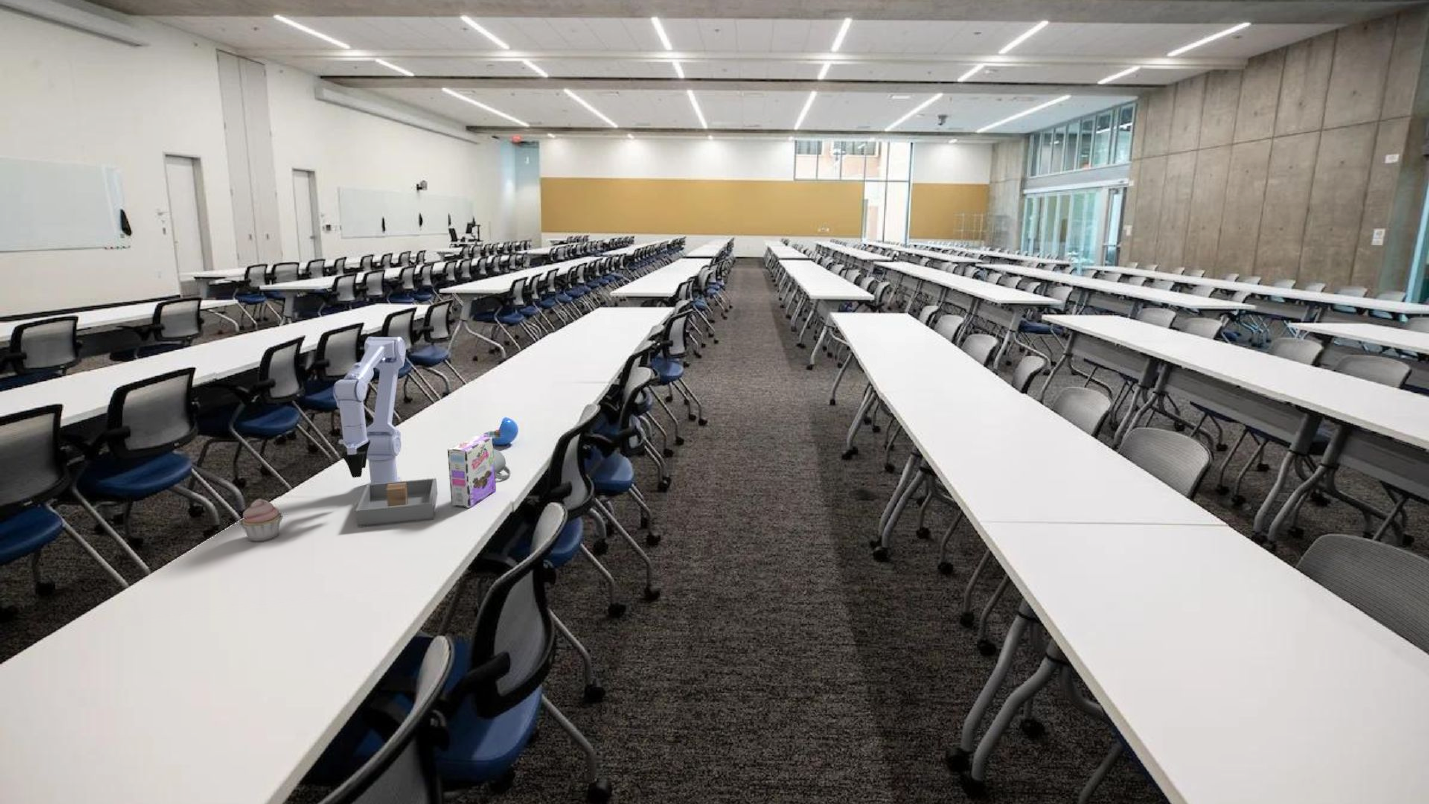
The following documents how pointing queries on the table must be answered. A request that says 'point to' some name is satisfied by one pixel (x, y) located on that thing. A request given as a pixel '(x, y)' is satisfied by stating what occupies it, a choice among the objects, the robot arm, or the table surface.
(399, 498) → the walnut block
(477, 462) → the candy box
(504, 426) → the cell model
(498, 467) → the ceramic mug
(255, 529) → the cupcake
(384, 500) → the grey bin
